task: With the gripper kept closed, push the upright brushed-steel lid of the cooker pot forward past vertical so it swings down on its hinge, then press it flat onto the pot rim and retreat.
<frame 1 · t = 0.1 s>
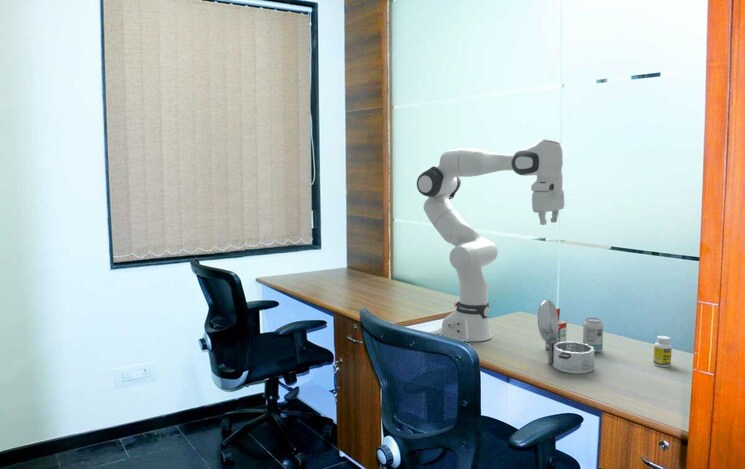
hand: (548, 223, 215), 48 cm above the table, fingers open, 8 cm apart
beverage can: (592, 351, 221), on the table
pot: (572, 367, 205), on the table
ink box: (555, 348, 225), on the table
supplement bottle: (661, 365, 206), on the table
lid: (545, 322, 209), point 14 cm above the table, hinge at 100.0°
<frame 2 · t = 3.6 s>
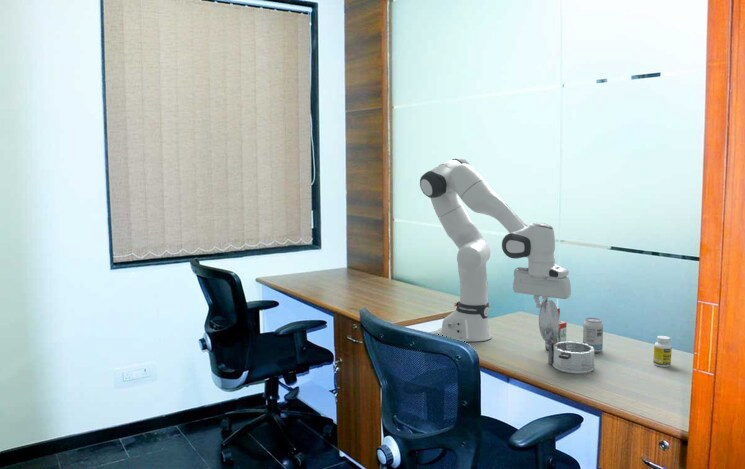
hand: (540, 308, 210), 19 cm above the table, fingers closed
lid: (546, 322, 209), point 14 cm above the table, hinge at 97.4°, touching gripper
everything else where it was.
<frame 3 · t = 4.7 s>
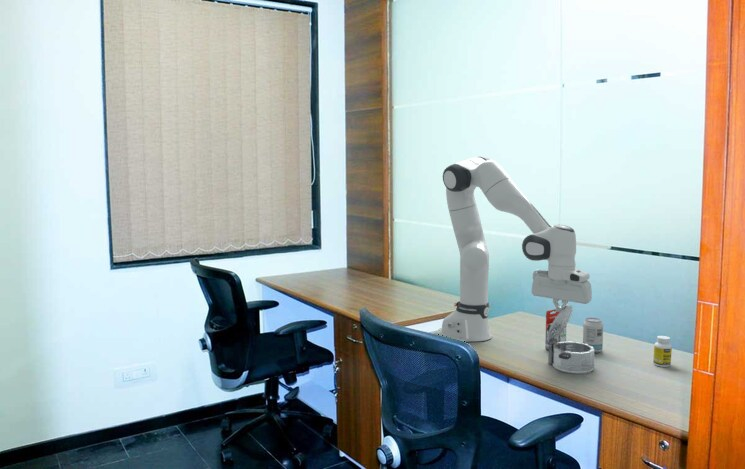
hand: (560, 312, 205), 19 cm above the table, fingers closed
lid: (556, 323, 207), point 14 cm above the table, hinge at 68.0°, touching gripper
everything else where it was.
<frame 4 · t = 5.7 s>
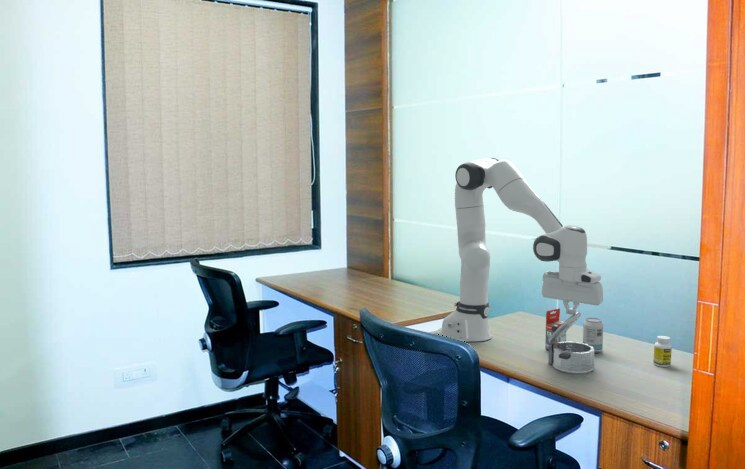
hand: (570, 313, 203), 18 cm above the table, fingers closed
lid: (562, 325, 206), point 14 cm above the table, hinge at 52.2°, touching gripper
everything else where it was.
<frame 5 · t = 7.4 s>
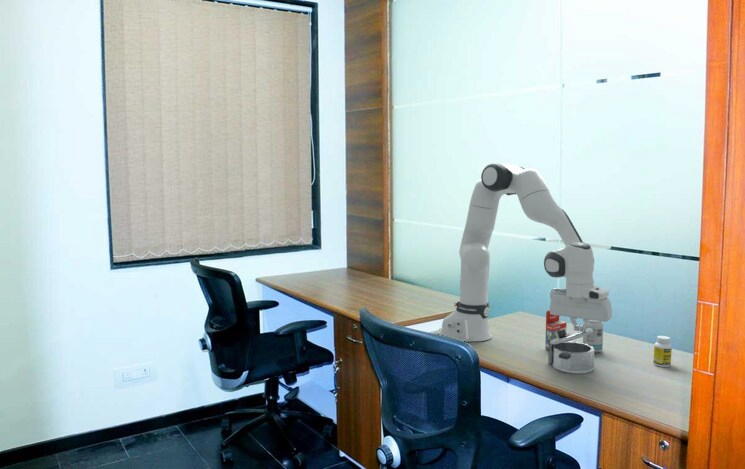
hand: (579, 330, 202), 13 cm above the table, fingers closed
lid: (569, 333, 204), point 11 cm above the table, hinge at 23.8°, touching gripper
everything else where it was.
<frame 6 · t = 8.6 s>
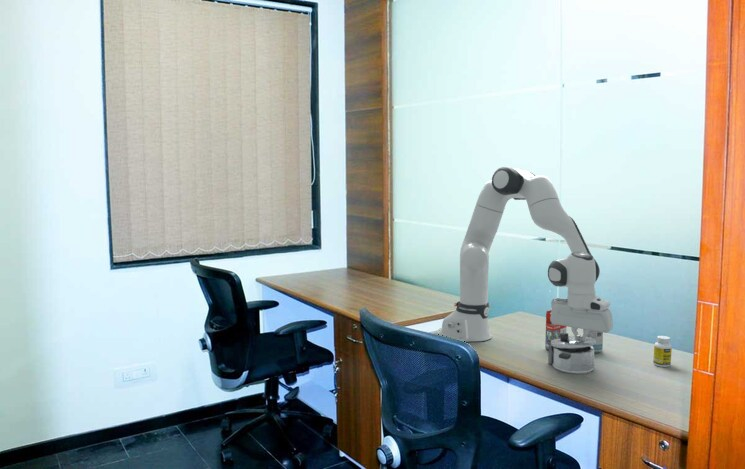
hand: (580, 340, 202), 10 cm above the table, fingers closed
lid: (571, 339, 204), point 10 cm above the table, hinge at 7.9°, touching gripper
everything else where it was.
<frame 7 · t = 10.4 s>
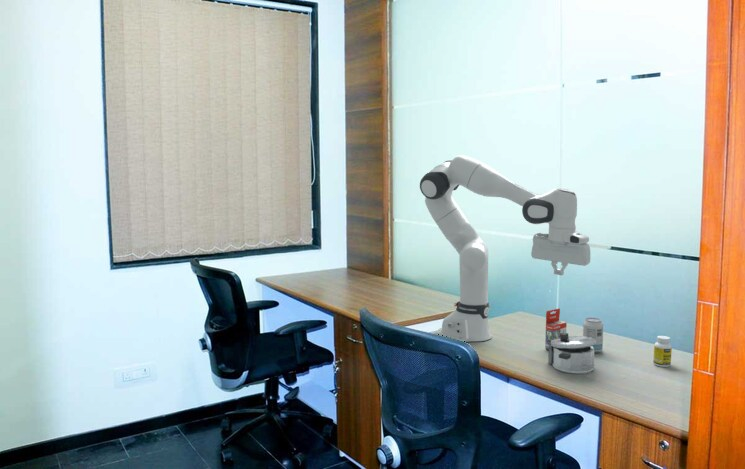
hand: (558, 274, 209), 31 cm above the table, fingers closed
lid: (572, 339, 204), point 10 cm above the table, hinge at 7.9°
everything else where it was.
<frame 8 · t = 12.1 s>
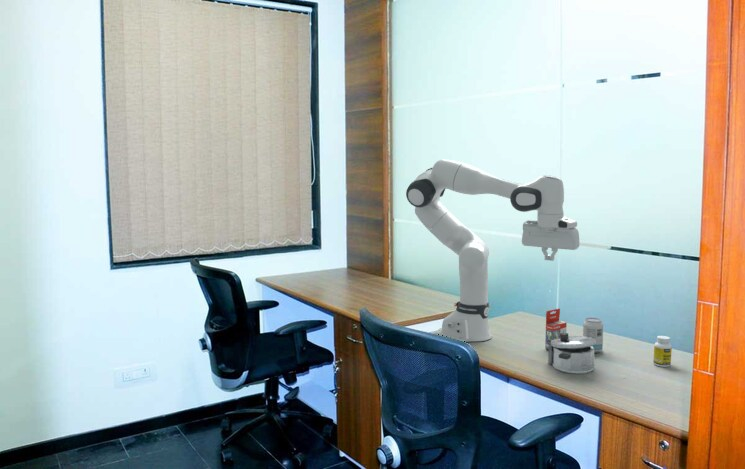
hand: (549, 260, 212), 35 cm above the table, fingers closed
nothing on the table moved.
at the end: lid at +8° (first picture: +100°) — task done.
